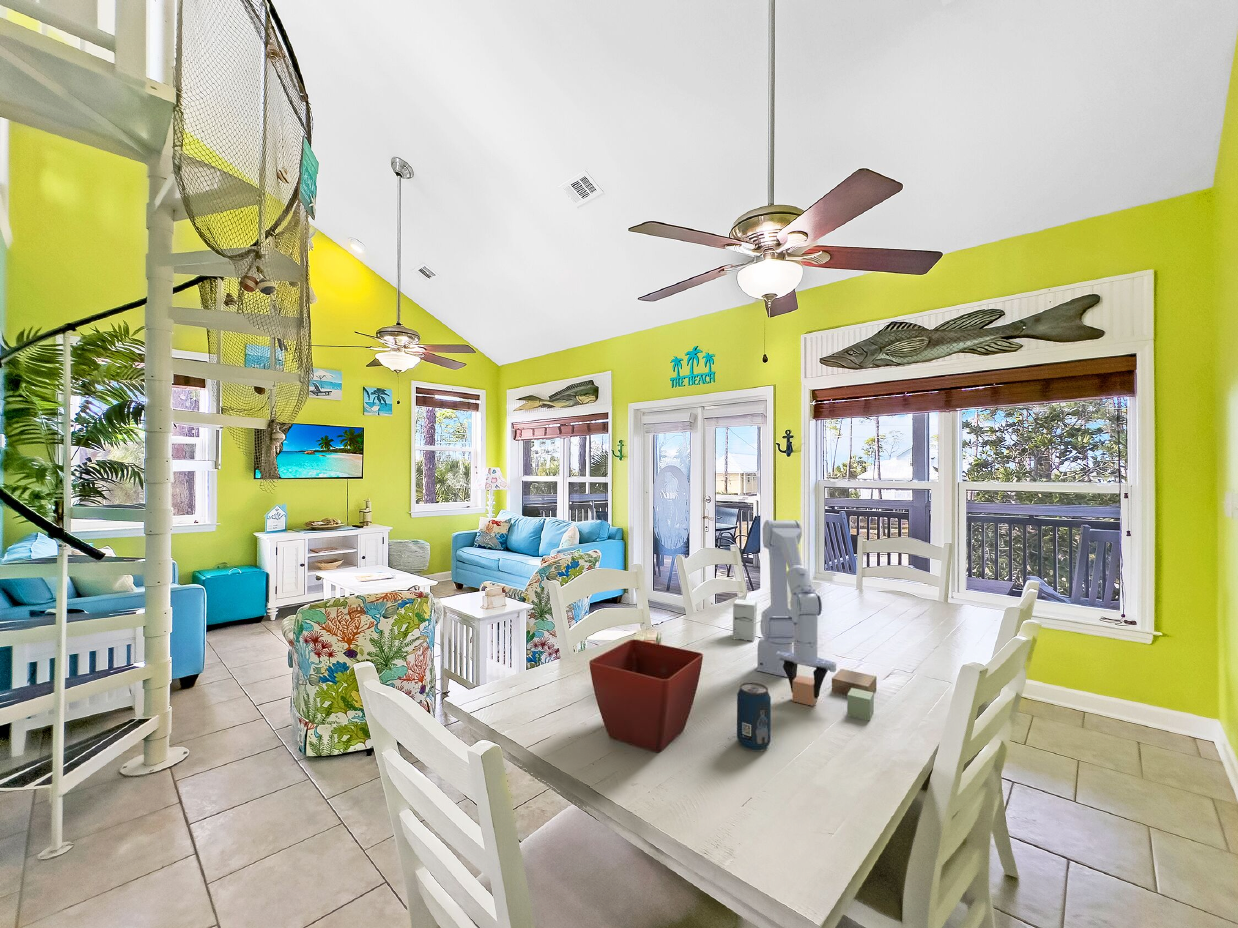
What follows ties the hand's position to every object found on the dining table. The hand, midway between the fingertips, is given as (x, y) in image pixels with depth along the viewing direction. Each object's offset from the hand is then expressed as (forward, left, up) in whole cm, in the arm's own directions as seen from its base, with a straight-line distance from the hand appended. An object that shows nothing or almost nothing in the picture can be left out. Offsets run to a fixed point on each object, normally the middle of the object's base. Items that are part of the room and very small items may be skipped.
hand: (805, 694), depth 138 cm
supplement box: (-32, +42, -2) cm, 53 cm away
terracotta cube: (0, 0, -1) cm, 1 cm away
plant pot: (-24, -38, -2) cm, 45 cm away
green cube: (+13, 0, -2) cm, 13 cm away
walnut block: (+9, +14, -2) cm, 17 cm away
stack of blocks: (-42, -8, -2) cm, 43 cm away
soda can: (-3, -29, -2) cm, 29 cm away
